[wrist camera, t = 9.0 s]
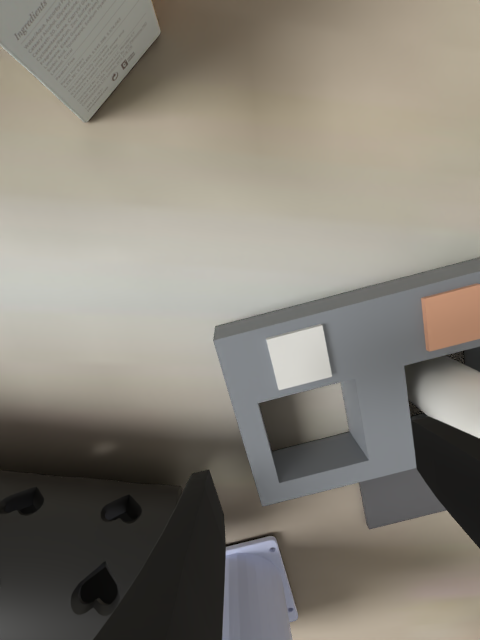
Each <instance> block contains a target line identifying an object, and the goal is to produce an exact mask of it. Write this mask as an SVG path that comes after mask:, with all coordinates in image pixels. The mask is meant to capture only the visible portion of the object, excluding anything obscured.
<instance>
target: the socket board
mask: <svg viewBox="0 0 480 640" xmlns="http://www.w3.org/2000/svg"><path fill="white" fill-rule="evenodd" d="M213 341H214V345H215V348H216V352H217V355H218V358H219V362H220V365H221V368H222V372H223V375H224V379H225V382H226V385H227V389H228V392H229V396H230V399H231V402H232V406H233V409H234V413H235V416H236V419H237V423H238V426H239V430H240V433H241V436H242V440H243V443H244V446H245V450H246V453H247V457H248V460H249V463H250V467H251V470H252V474H253V477H254V480H255V484H256V487H257V491H258V494H259V497H260V501H261V504H262V507H263V506H267V505H271V504H275V503H279V502H283V501H287V500H291V499H295V498H299V497H303V496H307V495H311V494H315V493H319V492H323V491H327V490H331V489H335V488H339V487H343V486H346V485H350V484H354V483H358V482H362V481H366V480H370V479H374V478H378V477H382V476H386V475H390V474H394V473H398V472H402V471H406V470H410V469H414V468H416V458H415V449H414V439H413V430H412V420H416V419H420V418H424V417H428V416H427V415H426V414H425V413H422V414H418V415H414V416H410V410H409V402H408V394H407V385H406V377H405V369H404V366H405V365H409V364H413V363H417V362H421V361H425V360H429V359H432V358H436V357H440V356H444V355H448V354H452V353H456V352H460V351H464V359H465V365H466V366H469V367H471V368H473V369H475V370H477V371H479V372H480V258H476V259H472V260H468V261H465V262H461V263H457V264H453V265H449V266H445V267H442V268H438V269H434V270H430V271H426V272H422V273H419V274H415V275H411V276H407V277H403V278H399V279H396V280H392V281H388V282H384V283H380V284H376V285H373V286H369V287H365V288H361V289H357V290H353V291H350V292H346V293H342V294H338V295H334V296H331V297H327V298H323V299H319V300H315V301H311V302H308V303H304V304H300V305H296V306H292V307H288V308H285V309H281V310H277V311H273V312H269V313H265V314H262V315H258V316H254V317H250V318H246V319H242V320H239V321H235V322H231V323H227V324H223V325H219V326H216V327H215V332H214V339H213ZM339 382H341V388H342V393H343V398H344V404H345V409H346V415H347V420H348V426H349V431H350V432H347V433H343V434H339V435H335V436H331V437H328V438H324V439H320V440H316V441H312V442H308V443H304V444H300V445H296V446H292V447H288V448H284V449H280V450H276V451H272V449H271V446H270V442H269V438H268V435H267V431H266V427H265V423H264V420H263V416H262V412H261V408H260V405H259V403H261V402H265V401H269V400H273V399H276V398H280V397H284V396H288V395H292V394H296V393H300V392H304V391H308V390H312V389H315V388H319V387H323V386H327V385H331V384H335V383H339Z"/></svg>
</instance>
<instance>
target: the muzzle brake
mask: <svg viewBox="0 0 480 640" xmlns="http://www.w3.org/2000/svg"><path fill="white" fill-rule="evenodd" d="M181 495H182V488H181V487H180V486H172V485H160V484H140V483H127V482H123V481H115V480H103V479H92V478H81V477H59V476H47V475H42V474H35V473H23V472H12V471H1V470H0V640H93V639H94V638H95V636H96V635H97V634H98V632H99V631H100V630H101V628H102V627H103V625H104V624H105V623H106V621H107V620H108V619H109V617H110V616H111V614H112V613H113V612H114V610H115V609H116V607H117V606H118V604H119V603H120V601H121V600H122V598H123V597H124V595H125V594H126V592H127V591H128V589H129V588H130V586H131V585H132V583H133V581H134V580H135V578H136V577H137V575H138V573H139V572H140V570H141V569H142V567H143V565H144V564H145V562H146V560H147V558H148V557H149V555H150V553H151V551H152V550H153V548H154V546H155V545H156V543H157V541H158V539H159V538H160V536H161V534H162V532H163V530H164V528H165V526H166V524H167V523H168V521H169V519H170V517H171V515H172V513H173V511H174V509H175V507H176V505H177V503H178V501H179V499H180V497H181Z"/></svg>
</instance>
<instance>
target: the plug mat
mask: <svg viewBox="0 0 480 640" xmlns="http://www.w3.org/2000/svg"><path fill="white" fill-rule="evenodd" d="M359 485H360V491H361V496H362V502H363V507H364V513H365V518H366V523H367V526H368V527H369V529H373V528H377V527H381V526H385V525H389V524H393V523H397V522H401V521H405V520H409V519H413V518H417V517H421V516H425V515H429V514H433V513H437V512H441V511H446V509H445V507H444V506H443V505H442V504H441V503H440V502H439V500H438V499H437V498H436V496H435V495H434V494H433V492H432V491H431V489H430V488H429V487H428V485H427V484H426V482H425V481H424V479H423V478H422V476H421V475H420V473H419V472H418V470H417V468H414V469H410V470H406V471H402V472H398V473H394V474H390V475H386V476H382V477H378V478H374V479H370V480H366V481H362V482H359Z"/></svg>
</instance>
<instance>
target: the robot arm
mask: <svg viewBox="0 0 480 640" xmlns="http://www.w3.org/2000/svg"><path fill="white" fill-rule="evenodd" d="M412 430H413V439H414V449H415V458H416V468H417V470H418V472H419V473H420V475H421V476H422V478H423V479H424V481H425V482H426V484H427V485H428V487H429V488H430V489H431V491H432V492H433V494H434V495H435V496H436V498H437V499H438V500H439V502H440V503H441V504H442V505H443V506H444V507H445V509H446V510H447V511H448V512H449V513H450V514H451V516H452V517H453V518H454V519H455V520H456V522H457V523H458V524H459V525H460V526H461V527H462V528H463V530H464V531H465V532H466V533H467V534H468V535H469V537H470V538H471V539H472V540H473V541H474V542H475V544H476V545H477V546H478V547H479V548H480V438H477V437H475V436H473V435H471V434H469V433H466V432H464V431H462V430H460V429H457V428H455V427H453V426H451V425H448V424H446V423H444V422H442V421H439V420H437V419H434V418H432V417H429V416H428V417H424V418H420V419H416V420H412ZM297 618H298V613H297V609H296V605H295V602H294V598H293V595H292V591H291V588H290V585H289V581H288V578H287V574H286V571H285V567H284V564H283V560H282V557H281V554H280V550H279V547H278V543H277V540H276V538H275V537H273V536H268V537H264V538H260V539H256V540H252V541H248V542H244V543H240V544H236V545H232V546H228V547H226V543H225V524H224V514H223V511H222V508H221V505H220V502H219V498H218V495H217V492H216V489H215V486H214V483H213V480H212V477H211V474H210V471H209V470H205V471H201V472H197V473H193V474H192V475H191V476H190V478H189V480H188V482H187V484H186V487H185V489H184V491H183V493H182V495H181V497H180V499H179V501H178V503H177V505H176V507H175V509H174V511H173V513H172V515H171V517H170V519H169V521H168V523H167V524H166V526H165V528H164V530H163V532H162V534H161V536H160V538H159V539H158V541H157V543H156V545H155V546H154V548H153V550H152V551H151V553H150V555H149V557H148V558H147V560H146V562H145V564H144V565H143V567H142V569H141V570H140V572H139V573H138V575H137V577H136V578H135V580H134V581H133V583H132V585H131V586H130V588H129V589H128V591H127V592H126V594H125V595H124V597H123V598H122V600H121V601H120V603H119V604H118V606H117V607H116V609H115V610H114V612H113V613H112V614H111V616H110V617H109V619H108V620H107V621H106V623H105V624H104V625H103V627H102V628H101V630H100V631H99V632H98V634H97V635H96V636H95V638H94V639H93V640H292V634H291V628H290V622H293V621H296V620H297Z"/></svg>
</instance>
